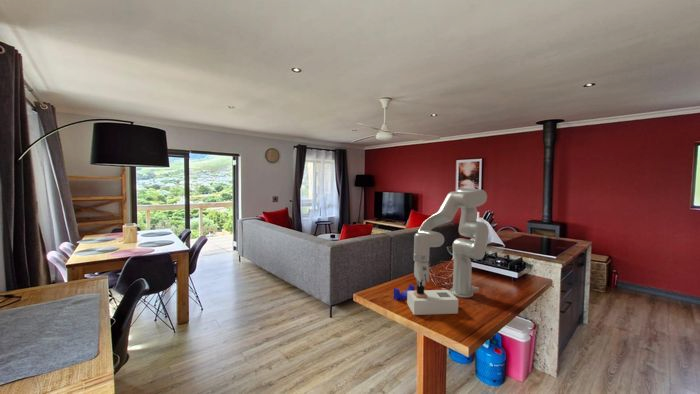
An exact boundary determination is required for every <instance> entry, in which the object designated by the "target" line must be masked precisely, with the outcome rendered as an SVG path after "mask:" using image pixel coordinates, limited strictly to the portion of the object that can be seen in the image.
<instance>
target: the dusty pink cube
mask: <svg viewBox="0 0 700 394" xmlns="http://www.w3.org/2000/svg"><path fill="white" fill-rule="evenodd" d="M414 295H415V296H416V298H427V295H426V293H425V292H424V294H418V293H417V290H415V291H414Z"/></svg>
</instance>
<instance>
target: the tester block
mask: <svg viewBox="0 0 700 394" xmlns="http://www.w3.org/2000/svg"><path fill="white" fill-rule="evenodd" d="M424 292H425V293H426V295H427V298H416V296H415V295H414V291H407V298H406V299H407V300H406V305H407V306H408V308H409V309H410V311H411V312H412V314H413V315H414V316H420V315H421V316H422V315H424V316H425V315H426V316H427V315H449V314H451V315H452V314H453V315H454V314H459V299H458V298H457V296H455V295H453V294H452V293H451V292H450V289H431V290H430V289H428V290H427V289H424ZM437 293H447V294H448V295H449V296H450V297H440V296H439V295H438V294H437Z"/></svg>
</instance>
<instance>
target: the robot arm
mask: <svg viewBox="0 0 700 394" xmlns="http://www.w3.org/2000/svg"><path fill="white" fill-rule="evenodd" d="M487 199H488V194H487V192H486V190H483V189H479V188H458V189H457V190H455V191H450V192H448V193H447V195H446V197H445V198H444V200H443V202H442V204H441V205H440V207H439V208H438V211H437V212H435V213H434V214H432V215H431V216H428V218H427V219H425V220H424V221H423V222H422V224H421V225H420V227H419V229H418V231H417V232H416V233H414V236H413V237H414V238H413V240H414V241H413V261H414V265H413V275H414V278H415V279H416V291H417V293H418V294H424V290H425V286H426V282H427V283H429V282H430V267H429V262H430V248H439V247H442V245H443V244H444V243H445V237H444V234H442V233H440V232H439V231H438V232H437V231H433V229H434V228H435V227H437V226H440V225H445V224H447V223H450V222H452V221H453V220H454V218H455V217H456V214H457V212H458V210H459V209H460V211H461V214H460V219H459V225H458V233H459V235H460V236H462V237H465V238H462V237H461V238H460V237H459V238H456V239H454V240H453V242H452V253H453V274H452V275H453V276H452V280H453V281H452V287H451V288H450V289H449V291H450V292H451V293H452V294H453V295H454V296H455V297H458V298H463V299H464V298H472V297H473V296H474V291H477V292H478V291H480V287H479V286H475V285H472V268H473V266H472V261H471V259H473V260H482V259H483V258H484V257H485V254H486V252H487V251H486V249H487V244H488V239H489V233H490V232H489V226H488V225H487V224H486V223H485V222H482V221H477V219H478V210H477V207H480V206H483V205H484V204H485V203H486V202H487ZM467 238H470V239H467ZM472 239H474V240H472Z"/></svg>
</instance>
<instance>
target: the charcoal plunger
mask: <svg viewBox="0 0 700 394" xmlns="http://www.w3.org/2000/svg"><path fill="white" fill-rule="evenodd" d="M437 294H438V295H439V296H440V297H450V296H449V295H448V294H447V293H437Z"/></svg>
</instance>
